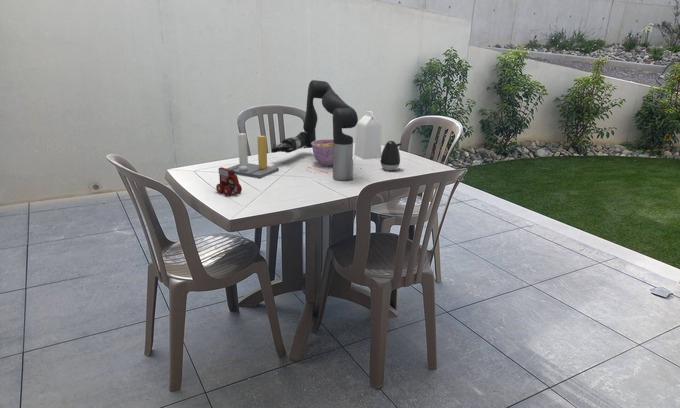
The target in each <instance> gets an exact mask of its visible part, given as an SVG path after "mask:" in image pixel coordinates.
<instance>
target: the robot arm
mask: <svg viewBox="0 0 680 408" xmlns="http://www.w3.org/2000/svg"><path fill="white" fill-rule="evenodd" d="M306 96H307V97H306V109H305V116H304V120H303V121H304V122H303V126H302V127H303V130H304V131H300V132H299V133H298V134H297V135H296V136H291V137H288V138H284V139H283V140H282V141H281V142H280V143H278V144H275V143H272V148H271V152H272V153H275V154H276V153H278V152H279V153H281V152H282V153H289V154H290V153H292V152H295V151H297V150H299V149H302V148H304V147H307V148H310V149H311V148H312V144H311V142H313V141H317V137H316V129H317V123H318V114H317V111H316V108H315V105H314V99H321V104H322V107H323V108H324V109H325V111H326V112H328V113H329V114H331V115H332V135H333V136H332V138H333V139H332V140H333V166H332V179H333V180H336V181H351V180H353V176H354V174H353V173H354V160H353V158H354V157H353V156H354V154H353V151H354V138H353V136H351V135H349V134H345V132H343V129H353V128H355V127H357V123H358V122H359V117H358V114H357V112H356V110H355V109H354V108H353V107H352V106H350V105H348V104H347V103H346V102H345V101H344V100H343V99H342V98H341V97H340V96H339V95H338V94H337V93H336V92H335V91H334V89H333V88H332V87H331V85H330V83H329V82H328V81H325V80H317V79H316V80H314V79H312V80H311V81H310V82H309V84H308V89H307V95H306Z"/></svg>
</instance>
